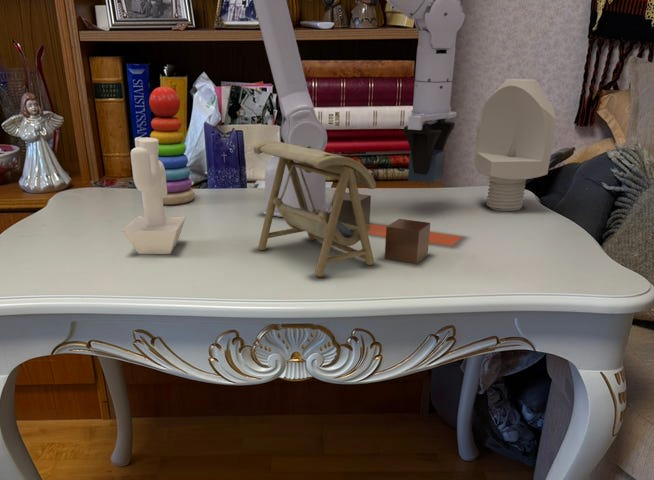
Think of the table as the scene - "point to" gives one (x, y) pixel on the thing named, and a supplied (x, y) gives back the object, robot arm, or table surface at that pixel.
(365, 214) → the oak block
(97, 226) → the table surface
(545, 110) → the beige tall piece
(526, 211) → the table surface
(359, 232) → the swing bench
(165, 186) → the figurine
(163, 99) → the stacking toy
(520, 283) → the table surface
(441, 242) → the line strip
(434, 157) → the slate block
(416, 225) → the walnut block
